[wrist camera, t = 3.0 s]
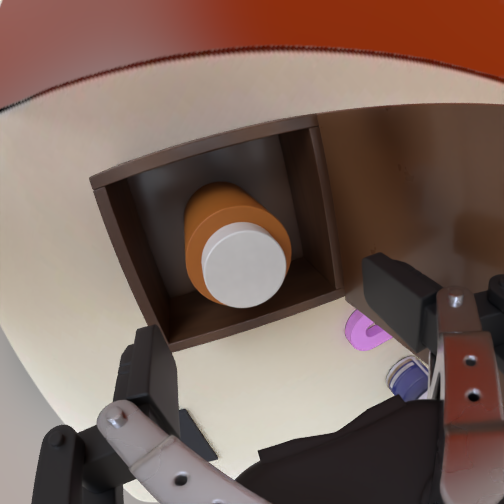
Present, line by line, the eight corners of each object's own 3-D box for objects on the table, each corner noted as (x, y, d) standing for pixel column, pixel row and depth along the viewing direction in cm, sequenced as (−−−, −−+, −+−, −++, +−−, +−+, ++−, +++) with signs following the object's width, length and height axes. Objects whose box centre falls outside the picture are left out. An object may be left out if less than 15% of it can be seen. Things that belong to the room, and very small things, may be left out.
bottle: (196, 259, 25) (207, 335, 16) (175, 193, 23) (169, 234, 13) (261, 238, 26) (310, 301, 16) (245, 172, 24) (290, 198, 14)
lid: (506, 429, 8) (515, 418, 9) (584, 115, 3) (587, 115, 4) (345, 300, 21) (354, 296, 21) (315, 113, 16) (327, 111, 16)
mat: (141, 470, 35) (141, 473, 35) (97, 425, 31) (97, 428, 30) (217, 456, 37) (218, 459, 36) (185, 408, 32) (185, 411, 31)
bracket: (433, 266, 32) (473, 291, 26) (433, 302, 35) (469, 330, 28) (341, 315, 32) (374, 354, 25) (348, 351, 34) (378, 390, 27)
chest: (165, 304, 27) (162, 355, 20) (114, 166, 22) (88, 177, 15) (309, 258, 28) (347, 295, 22) (281, 118, 23) (318, 112, 17)
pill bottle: (379, 389, 38) (414, 437, 29) (393, 357, 36) (436, 406, 27) (408, 382, 40) (444, 425, 31) (422, 352, 38) (464, 394, 29)
